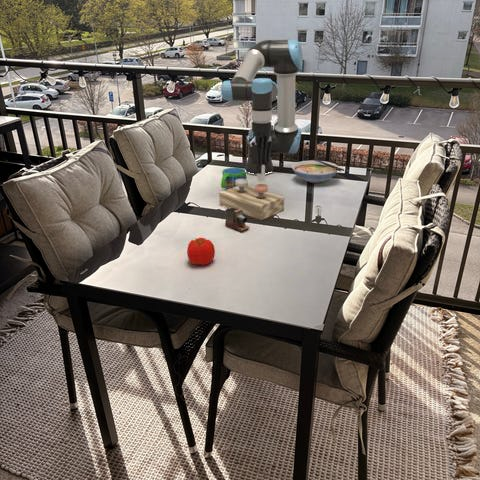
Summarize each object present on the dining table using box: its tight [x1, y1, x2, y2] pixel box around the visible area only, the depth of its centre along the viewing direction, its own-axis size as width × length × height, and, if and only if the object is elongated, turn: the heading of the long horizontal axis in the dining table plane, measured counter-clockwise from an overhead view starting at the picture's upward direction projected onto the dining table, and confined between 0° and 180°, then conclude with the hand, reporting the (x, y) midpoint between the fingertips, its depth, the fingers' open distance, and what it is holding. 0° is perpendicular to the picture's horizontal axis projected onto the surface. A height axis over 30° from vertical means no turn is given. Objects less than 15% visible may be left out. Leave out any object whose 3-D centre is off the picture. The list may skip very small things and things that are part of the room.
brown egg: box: [254, 183, 268, 199], centre depth 189 cm, size 5×5×6 cm
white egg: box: [235, 179, 249, 193], centre depth 196 cm, size 5×5×6 cm
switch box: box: [219, 185, 285, 221], centre depth 194 cm, size 14×24×6 cm, turn 46°
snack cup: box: [220, 167, 248, 190], centre depth 212 cm, size 16×10×10 cm
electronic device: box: [224, 208, 251, 233], centre depth 175 cm, size 4×10×8 cm, turn 44°
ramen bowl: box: [291, 158, 345, 184], centre depth 226 cm, size 25×23×8 cm
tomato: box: [186, 237, 216, 266], centre depth 150 cm, size 9×9×8 cm
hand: (260, 180), depth 186 cm, fingers closed
